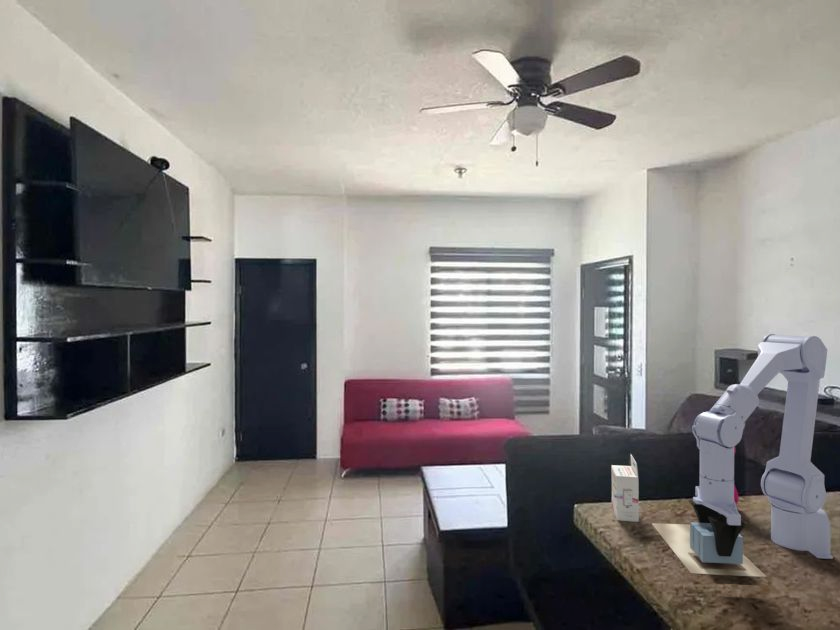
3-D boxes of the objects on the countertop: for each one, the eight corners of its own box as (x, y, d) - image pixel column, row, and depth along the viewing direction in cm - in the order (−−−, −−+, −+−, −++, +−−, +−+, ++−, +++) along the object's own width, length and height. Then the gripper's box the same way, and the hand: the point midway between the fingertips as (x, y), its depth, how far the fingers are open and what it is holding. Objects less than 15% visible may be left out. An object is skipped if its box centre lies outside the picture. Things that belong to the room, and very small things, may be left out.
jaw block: (727, 548, 102) (727, 523, 102) (742, 564, 97) (743, 537, 96) (689, 547, 103) (690, 522, 103) (702, 562, 97) (702, 535, 97)
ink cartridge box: (610, 512, 128) (610, 452, 127) (632, 513, 127) (632, 453, 126) (616, 526, 119) (616, 462, 119) (639, 528, 118) (639, 463, 118)
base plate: (712, 532, 116) (712, 506, 116) (766, 585, 94) (767, 552, 94) (651, 529, 118) (651, 503, 117) (690, 581, 96) (691, 549, 96)
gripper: (679, 464, 107) (679, 530, 107) (711, 489, 93) (710, 565, 93) (716, 465, 106) (716, 531, 107) (753, 490, 92) (753, 567, 92)
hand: (716, 547), depth 100 cm, fingers closed on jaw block, 6 cm apart
